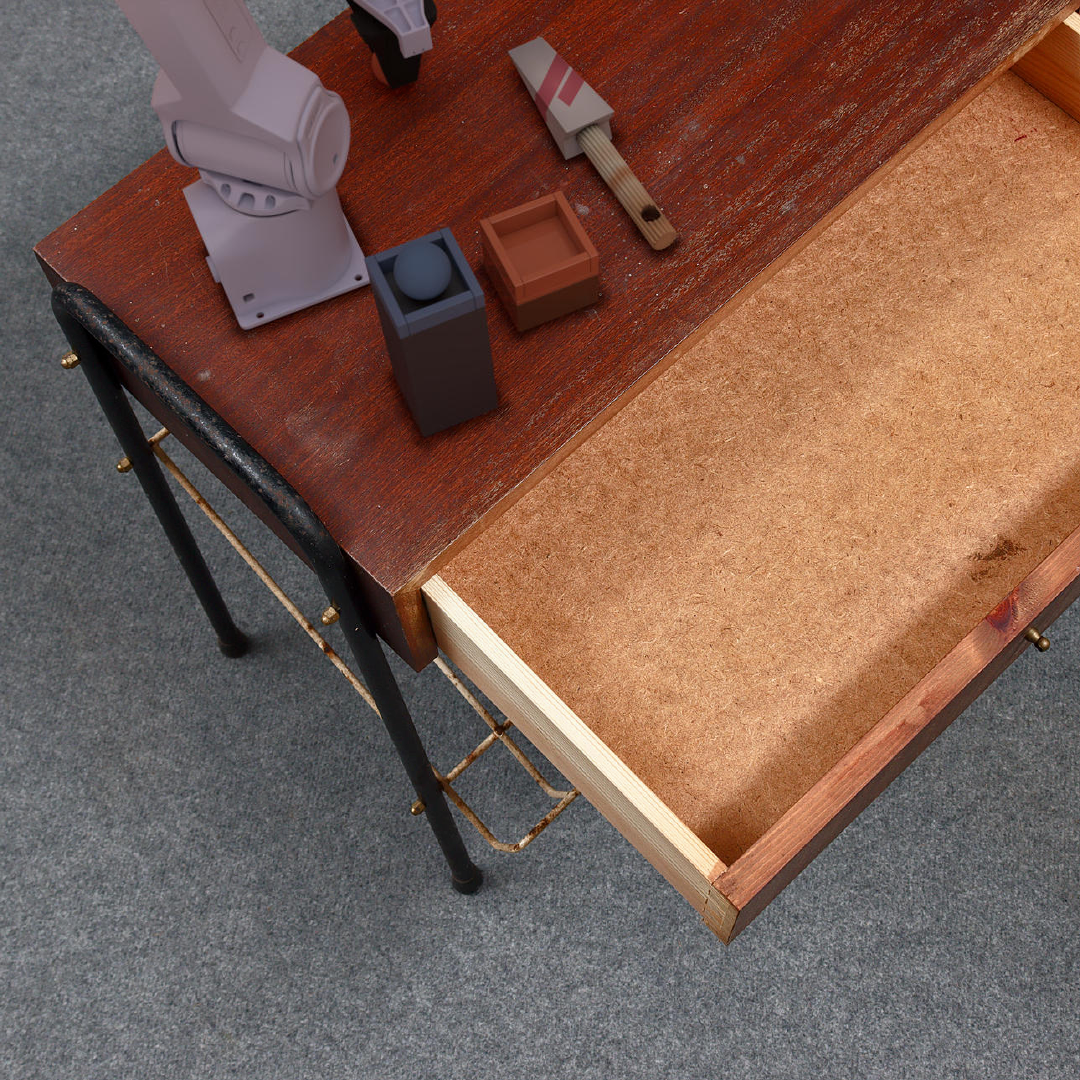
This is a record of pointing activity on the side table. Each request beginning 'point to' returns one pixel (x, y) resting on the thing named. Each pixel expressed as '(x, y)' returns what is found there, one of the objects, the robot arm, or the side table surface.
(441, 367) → the slate stand
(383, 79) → the terracotta ball
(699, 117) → the side table surface
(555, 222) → the terracotta cup
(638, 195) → the paintbrush
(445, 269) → the slate ball
